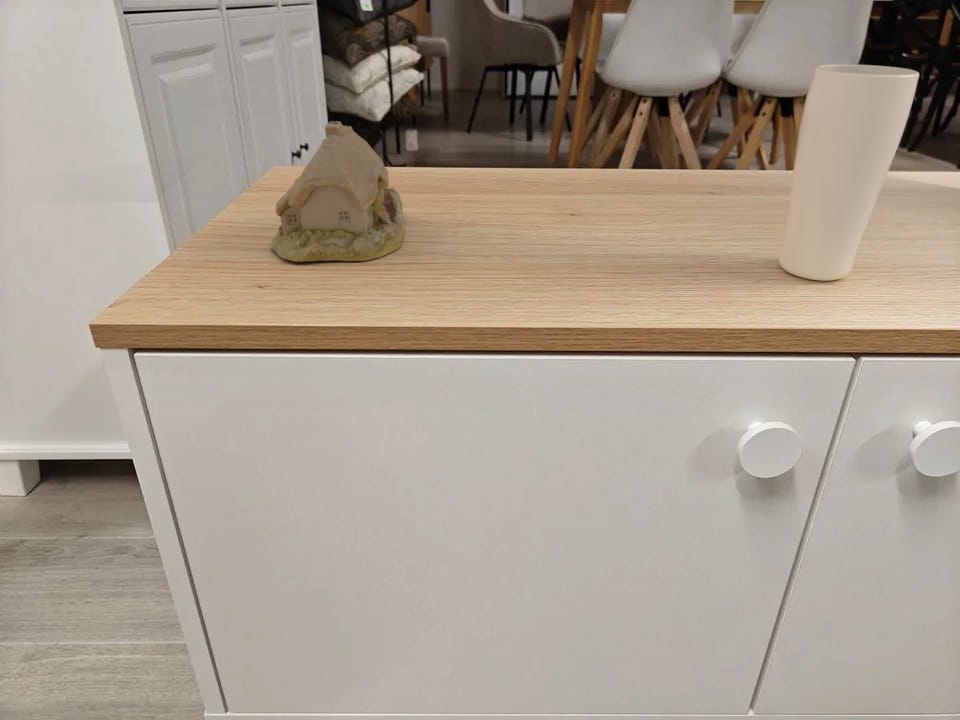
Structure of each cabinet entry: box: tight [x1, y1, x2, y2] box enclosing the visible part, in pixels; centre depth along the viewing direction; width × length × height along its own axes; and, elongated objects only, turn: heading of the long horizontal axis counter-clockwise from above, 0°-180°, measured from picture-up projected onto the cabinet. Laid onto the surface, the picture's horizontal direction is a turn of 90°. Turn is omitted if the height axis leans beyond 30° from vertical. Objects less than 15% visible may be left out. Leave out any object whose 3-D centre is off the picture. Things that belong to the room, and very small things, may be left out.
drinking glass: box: [778, 63, 920, 282], centre depth 51 cm, size 7×7×15 cm
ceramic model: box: [270, 120, 406, 263], centre depth 58 cm, size 14×11×10 cm
